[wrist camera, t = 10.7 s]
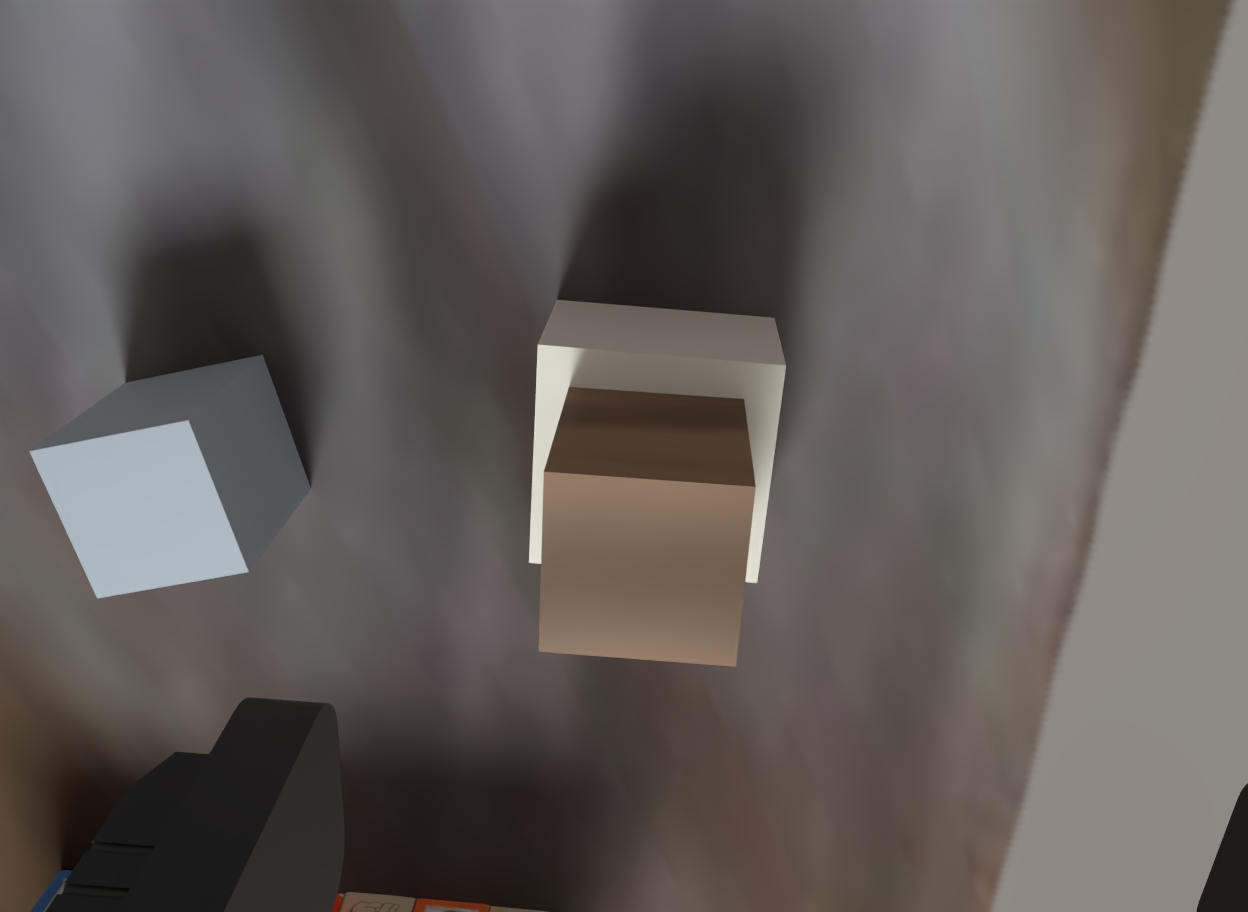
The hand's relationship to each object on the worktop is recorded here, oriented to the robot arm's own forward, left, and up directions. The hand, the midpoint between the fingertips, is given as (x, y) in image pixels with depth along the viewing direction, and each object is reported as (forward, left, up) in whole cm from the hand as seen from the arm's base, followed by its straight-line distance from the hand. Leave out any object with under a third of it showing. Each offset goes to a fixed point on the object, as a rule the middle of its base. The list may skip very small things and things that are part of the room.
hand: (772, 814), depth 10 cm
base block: (+6, -1, -27) cm, 28 cm away
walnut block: (+7, -1, -22) cm, 23 cm away
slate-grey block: (+8, -16, -27) cm, 32 cm away
